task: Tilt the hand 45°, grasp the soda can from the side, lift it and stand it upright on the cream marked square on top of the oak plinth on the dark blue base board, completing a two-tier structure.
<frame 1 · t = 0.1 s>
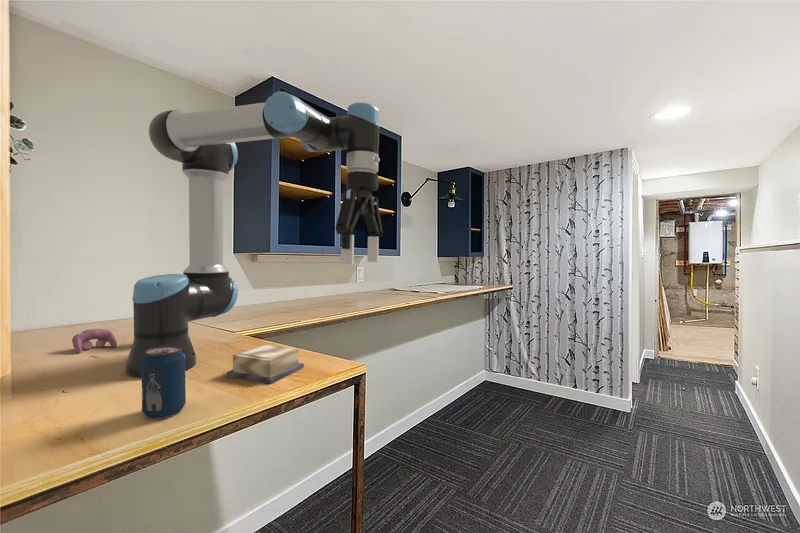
hand: (360, 263, 90), 28 cm above the table, tool pointing down, fingers open, 13 cm apart
video game controller: (94, 349, 111), on the table
soda can: (164, 413, 71), on the table
blueprint board: (266, 371, 94), on the table
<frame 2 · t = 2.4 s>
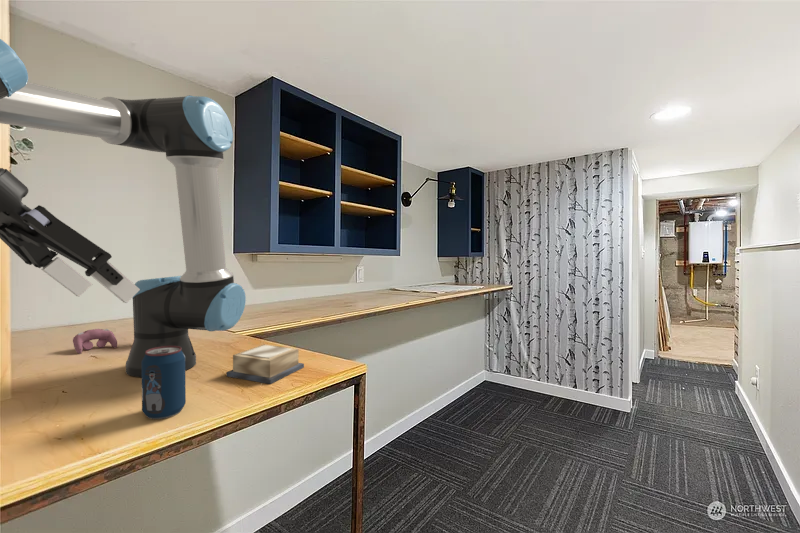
hand: (107, 293, 60), 24 cm above the table, tool tilted 45°, fingers open, 13 cm apart
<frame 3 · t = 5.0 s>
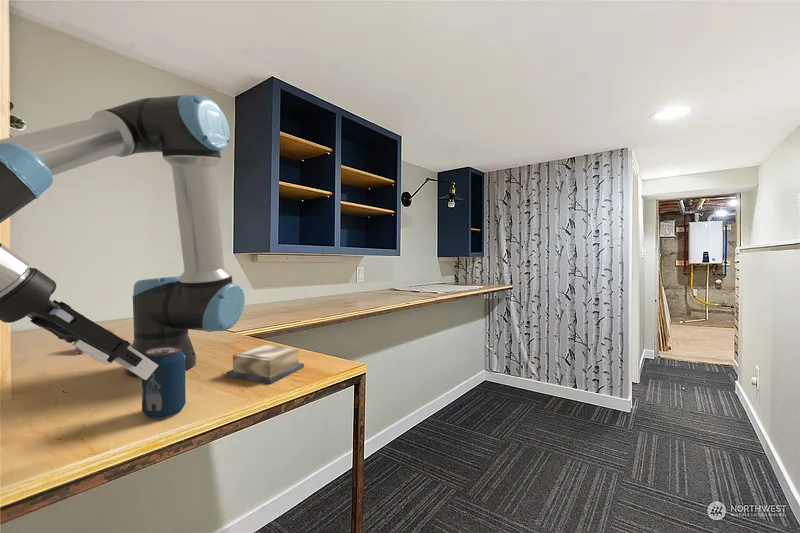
hand: (130, 365, 65), 11 cm above the table, tool tilted 45°, fingers open, 13 cm apart
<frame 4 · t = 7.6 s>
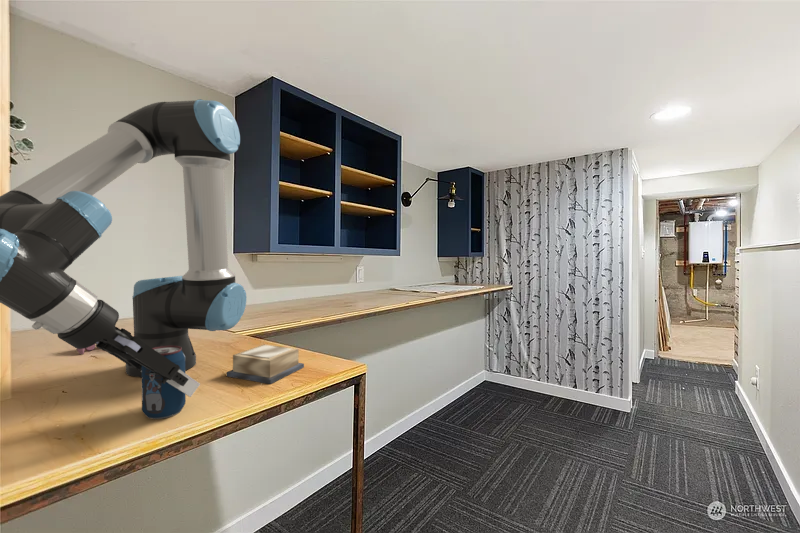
hand: (182, 385, 73), 4 cm above the table, tool tilted 45°, fingers closed on soda can, 7 cm apart
soda can: (164, 413, 71), on the table, touching gripper
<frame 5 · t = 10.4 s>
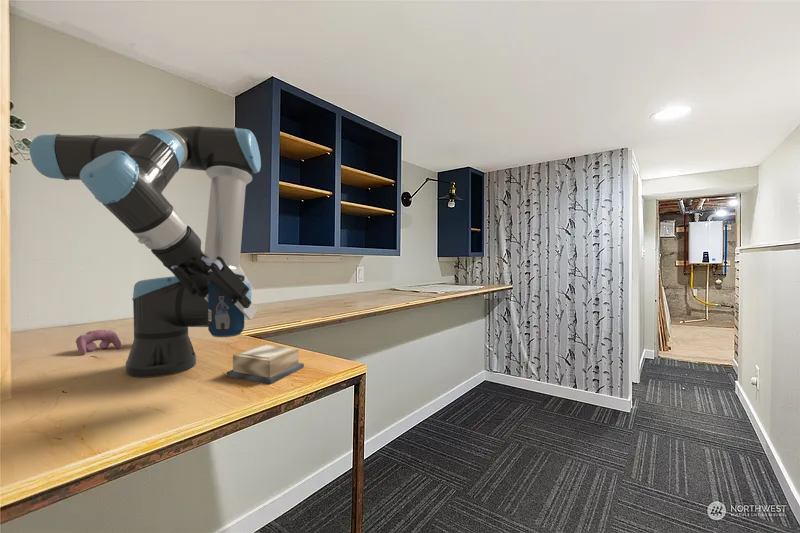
hand: (239, 312, 83), 17 cm above the table, tool tilted 45°, fingers closed on soda can, 7 cm apart
soda can: (226, 335, 80), point 13 cm above the table, touching gripper
when the fingers open (10 cm above the table, at t = 13.4 s): soda can stays where it is, resting on blueprint board.
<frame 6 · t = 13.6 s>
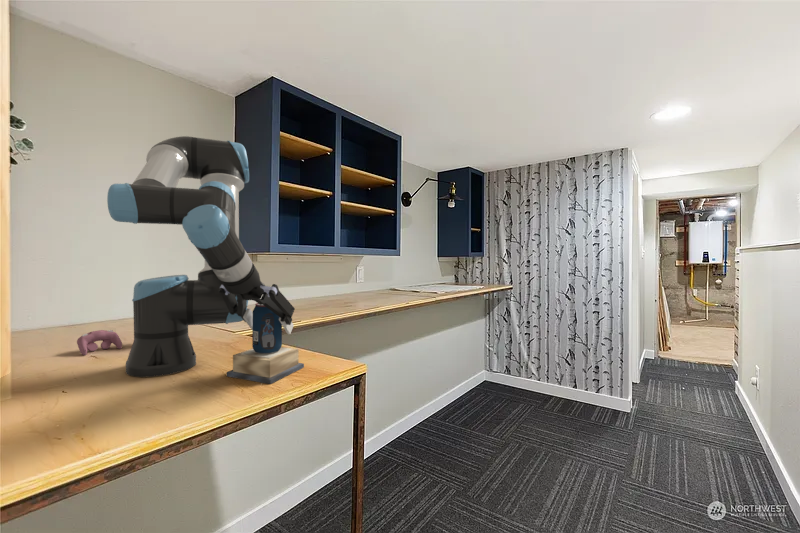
hand: (273, 328, 97), 10 cm above the table, tool tilted 45°, fingers open, 9 cm apart
soda can: (267, 351, 94), point 5 cm above the table, touching blueprint board
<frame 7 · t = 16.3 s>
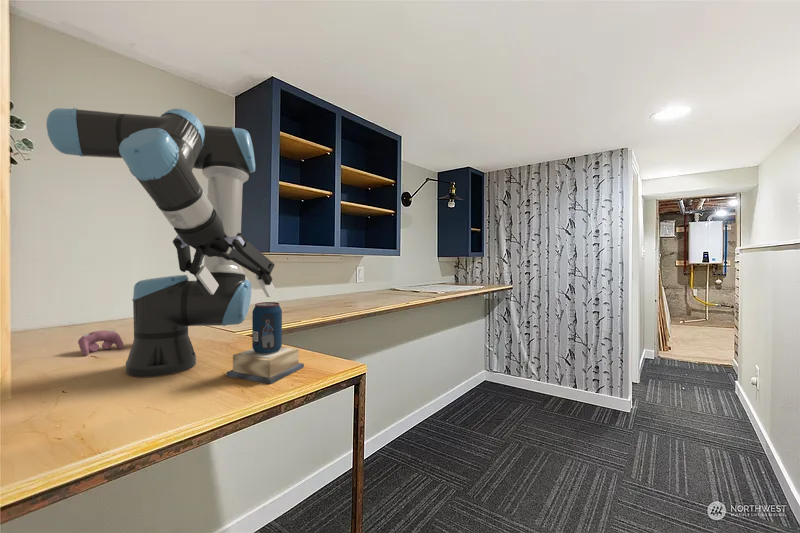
hand: (242, 291, 83), 22 cm above the table, tool tilted 45°, fingers open, 13 cm apart
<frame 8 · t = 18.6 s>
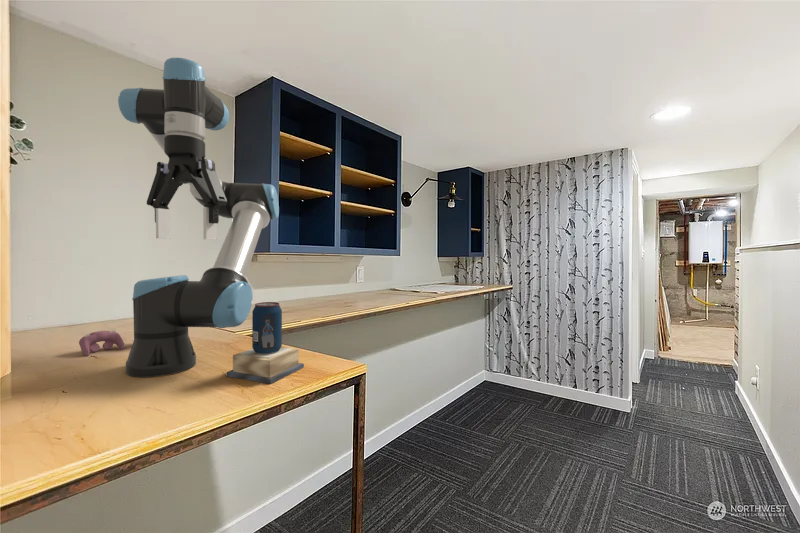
hand: (186, 239, 80), 33 cm above the table, tool pointing down, fingers open, 13 cm apart
at the end: soda can inside the target area on the blueprint board (0.1 cm from its centre), point 5.0 cm above the blueprint board's base; soda can tilted 0°; the gripper is holding nothing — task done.
